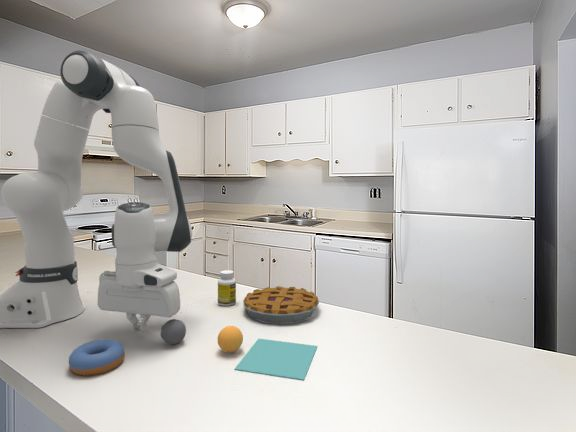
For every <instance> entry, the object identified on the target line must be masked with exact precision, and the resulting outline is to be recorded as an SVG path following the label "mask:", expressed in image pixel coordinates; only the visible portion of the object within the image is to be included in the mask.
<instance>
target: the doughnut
mask: <svg viewBox="0 0 576 432" xmlns="http://www.w3.org/2000/svg"><path fill="white" fill-rule="evenodd" d="M124 348H125V347H124V345H123V344H122V343H121V342H119V341H118V340H115V339H110V338H109V339H108V338H107V339H106V338H105V339H104V338H103V339H97V340H92V341H91V340H90V341H89V342H86V343H84V344H82V345H80V346H78V347H76V348H75V349H74V350H72V352H71V353H70V355H69V357H68V366H69V369H70V370H71V371H72V372H73V373H74V374H76V375H79V376H90V377H91V376H97V375H101V374H104V373H107V372H109V371H112V370H114V369H115V368H117V367H118V366H119V365H120V364H121V363H122V362H123V360H124V358H125V355H126V351H125V349H124Z"/></svg>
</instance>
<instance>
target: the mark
mask: <svg viewBox="0 0 576 432" xmlns="http://www.w3.org/2000/svg"><path fill="white" fill-rule="evenodd" d="M317 348H318V345H315V344H314V345H311V344H305V343H297V342H290V341H281V340H273V339H266V338H265V339H264V338H257V340H256V341H254V343H253V344H252V345H251V347H250V349H249V350H248V351H247V352H246V353H245V354H244V356H243V357H242V359H241V360H240V361H239V363H237V365H236V366H235V368H234V371H240V372H245V373H253V374H260V375H265V376H273V377H280V378H287V379H292V380H299V381H300V380H301V381H304V380H305V378H306V376H307V374H308V371H309V369H310V367H311V366H310V365H311V363H312V362H313V359H314V356H315V353H316V351H317Z"/></svg>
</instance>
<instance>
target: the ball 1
mask: <svg viewBox="0 0 576 432" xmlns="http://www.w3.org/2000/svg"><path fill="white" fill-rule="evenodd" d="M186 334H187V328H186V325H185V323H184V322H183V321H182V320H180V319H176V318H173V319H169V320H167V321H166V322H164V324H163V325H162V326H161V329H160V337H161V339H162V341H163V342H164V343H166V344H168V345H176V344H179V343H181V342H182V341H183V340H184V338H185V337H186Z"/></svg>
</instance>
